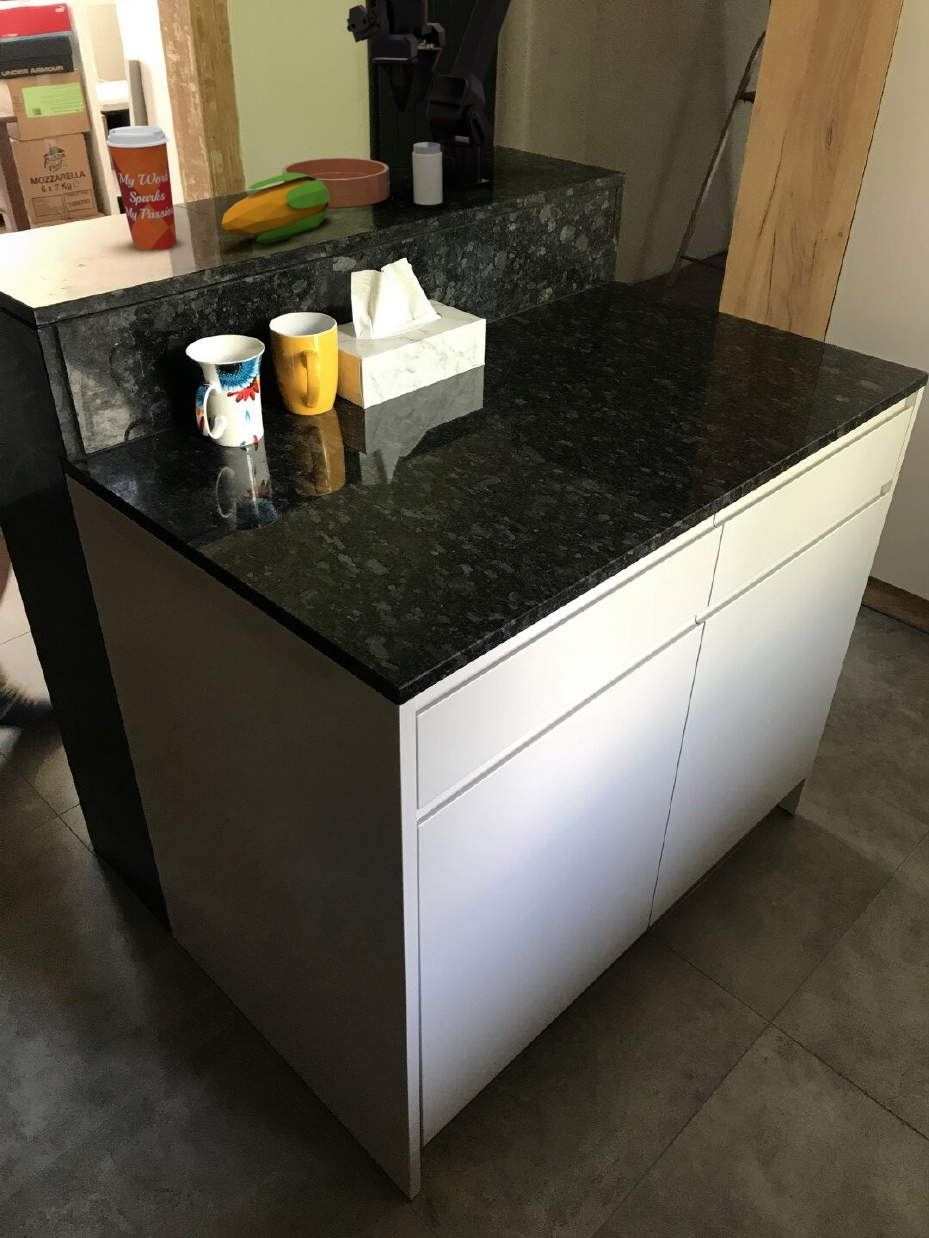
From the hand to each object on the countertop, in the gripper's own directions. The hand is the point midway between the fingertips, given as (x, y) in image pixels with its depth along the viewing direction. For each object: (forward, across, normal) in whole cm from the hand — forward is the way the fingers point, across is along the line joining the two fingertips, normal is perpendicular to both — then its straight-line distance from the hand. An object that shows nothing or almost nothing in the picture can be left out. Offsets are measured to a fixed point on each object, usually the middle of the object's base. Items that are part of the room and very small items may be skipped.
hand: (410, 106), depth 149 cm
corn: (+13, +27, -11) cm, 32 cm away
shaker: (+13, +4, +4) cm, 14 cm away
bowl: (+13, +4, -11) cm, 17 cm away
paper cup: (+13, +35, -26) cm, 45 cm away
